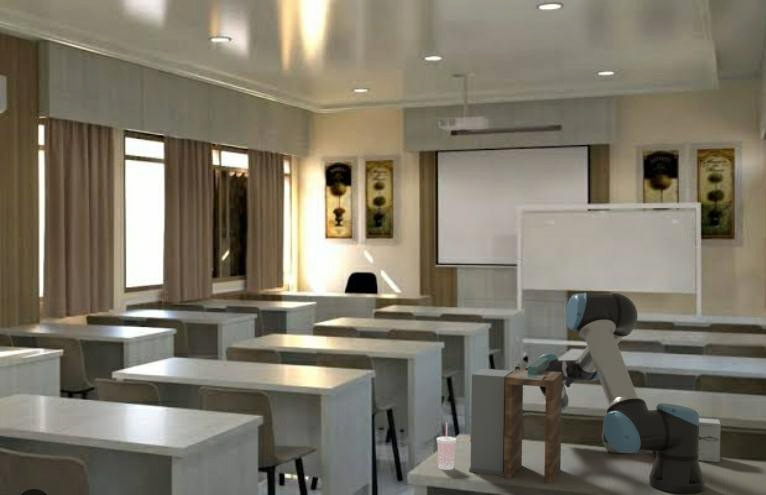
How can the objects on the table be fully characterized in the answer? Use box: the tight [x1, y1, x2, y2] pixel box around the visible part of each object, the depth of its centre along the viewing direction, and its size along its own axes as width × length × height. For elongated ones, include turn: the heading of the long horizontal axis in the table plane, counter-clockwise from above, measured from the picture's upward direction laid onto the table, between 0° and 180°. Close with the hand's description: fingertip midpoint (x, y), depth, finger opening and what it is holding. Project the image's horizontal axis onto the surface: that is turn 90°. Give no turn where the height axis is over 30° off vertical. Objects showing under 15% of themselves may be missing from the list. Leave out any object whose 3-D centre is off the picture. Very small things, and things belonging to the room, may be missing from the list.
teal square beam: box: [515, 357, 549, 380], centre depth 265 cm, size 8×26×3 cm, turn 159°
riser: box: [503, 369, 562, 484], centre depth 262 cm, size 14×16×30 cm
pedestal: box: [468, 368, 514, 476], centre depth 268 cm, size 11×13×30 cm
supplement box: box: [698, 417, 722, 463], centre depth 282 cm, size 7×7×13 cm
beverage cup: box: [436, 422, 457, 471], centre depth 268 cm, size 6×6×14 cm
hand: (541, 363), depth 275 cm, fingers open, 13 cm apart
